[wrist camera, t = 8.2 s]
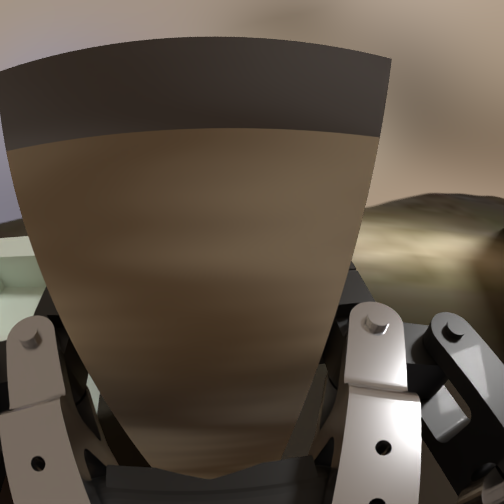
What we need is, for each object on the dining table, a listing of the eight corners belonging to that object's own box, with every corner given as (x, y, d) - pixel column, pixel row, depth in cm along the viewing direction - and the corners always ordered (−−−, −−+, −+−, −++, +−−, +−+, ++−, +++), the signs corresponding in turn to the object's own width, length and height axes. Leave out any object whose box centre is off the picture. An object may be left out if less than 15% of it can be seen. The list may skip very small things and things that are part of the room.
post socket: (123, 274, 21) (114, 231, 19) (95, 423, 12) (67, 385, 10) (-1, 277, 19) (-17, 239, 17) (-56, 393, 11) (-88, 356, 9)
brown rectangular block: (256, 390, 15) (292, 49, 7) (272, 475, 11) (391, 58, 3) (163, 395, 14) (102, 54, 6) (164, 482, 10) (-4, 71, 2)
